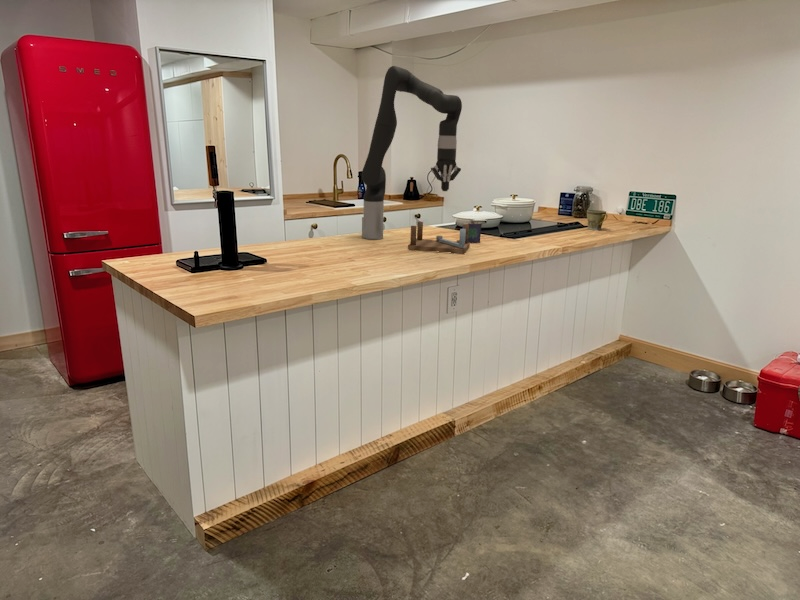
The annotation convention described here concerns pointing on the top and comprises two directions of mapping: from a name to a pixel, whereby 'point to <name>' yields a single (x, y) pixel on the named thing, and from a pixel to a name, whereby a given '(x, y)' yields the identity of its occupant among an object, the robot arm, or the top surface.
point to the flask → (474, 232)
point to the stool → (434, 241)
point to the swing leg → (460, 244)
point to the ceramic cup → (595, 219)
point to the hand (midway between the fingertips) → (444, 191)
